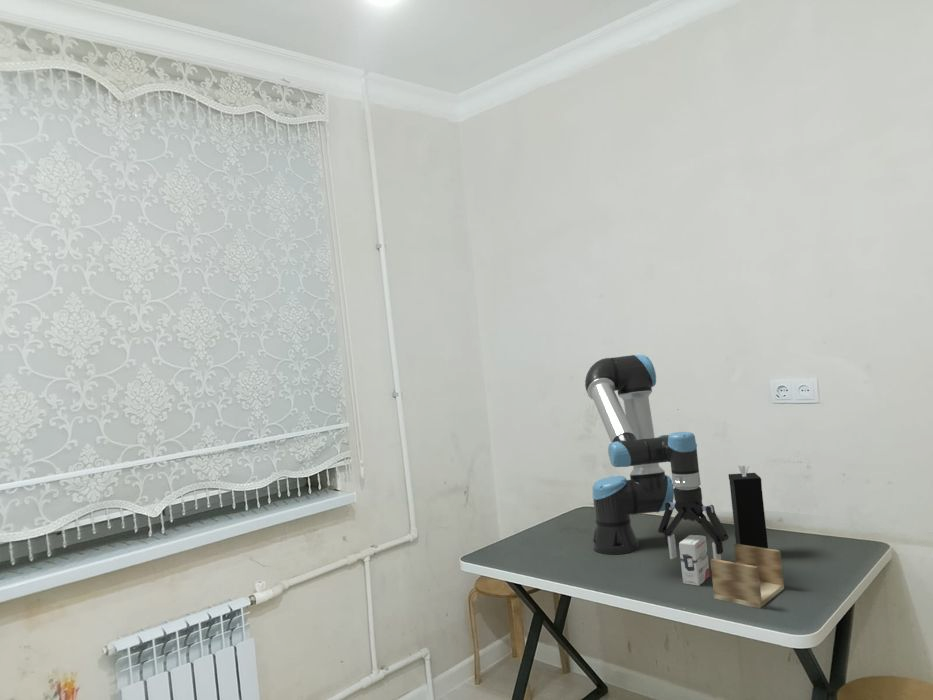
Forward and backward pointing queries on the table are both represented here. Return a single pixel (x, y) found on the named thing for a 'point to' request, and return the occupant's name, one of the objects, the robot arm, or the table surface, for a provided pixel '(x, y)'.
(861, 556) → the table surface
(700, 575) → the ink box
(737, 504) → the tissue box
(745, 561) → the holder
